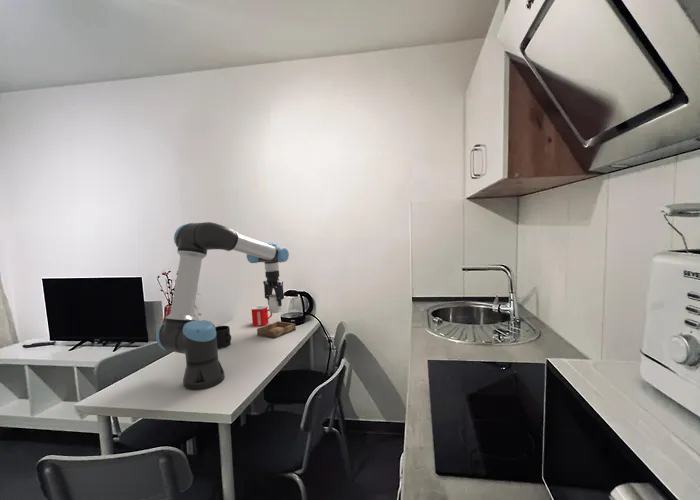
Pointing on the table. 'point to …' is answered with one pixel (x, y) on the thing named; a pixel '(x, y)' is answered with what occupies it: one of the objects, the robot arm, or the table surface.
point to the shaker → (273, 303)
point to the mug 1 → (223, 336)
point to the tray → (276, 329)
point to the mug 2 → (260, 315)
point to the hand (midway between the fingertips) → (275, 311)
